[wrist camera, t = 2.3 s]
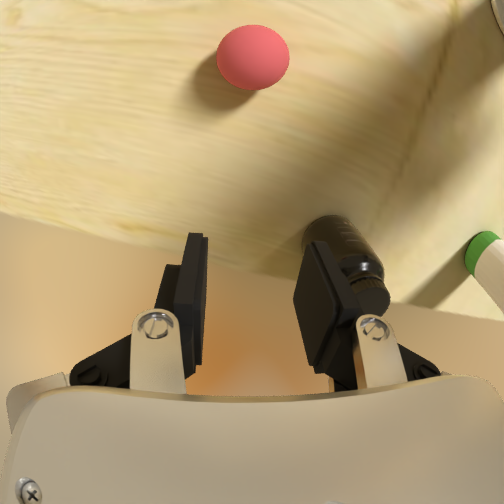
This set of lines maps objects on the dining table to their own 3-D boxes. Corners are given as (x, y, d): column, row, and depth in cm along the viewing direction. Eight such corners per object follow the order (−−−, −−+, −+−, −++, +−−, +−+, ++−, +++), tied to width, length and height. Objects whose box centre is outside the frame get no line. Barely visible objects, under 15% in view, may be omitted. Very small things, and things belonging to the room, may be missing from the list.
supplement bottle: (336, 269, 36) (369, 340, 26) (290, 253, 35) (313, 328, 25) (366, 225, 33) (413, 289, 23) (319, 203, 31) (359, 268, 21)
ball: (255, 20, 21) (262, 4, 16) (295, 66, 23) (312, 62, 18) (204, 56, 22) (197, 49, 17) (245, 101, 25) (249, 106, 20)
